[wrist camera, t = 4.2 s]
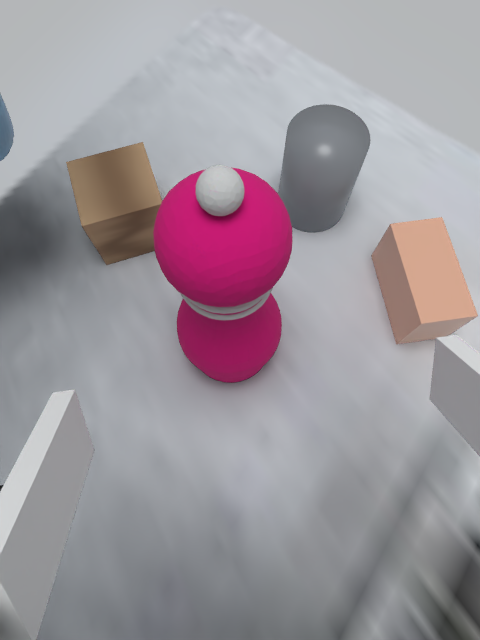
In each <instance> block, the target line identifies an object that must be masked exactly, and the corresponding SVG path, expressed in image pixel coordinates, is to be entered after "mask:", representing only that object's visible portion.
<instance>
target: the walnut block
mask: <svg viewBox="0 0 480 640" xmlns="http://www.w3.org/2000/svg"><path fill="white" fill-rule="evenodd" d="M66 163H67V167H68V171H69V175H70V180H71V184H72V188H73V192H74V196H75V200H76V204H77V208H78V213H79V217H80V221H81V225H82V227H83V229H84V230H85V232H86V234H87V235H88V237H89V238H90V240H91V241H92V243H93V244H94V246H95V248H96V249H97V251H98V252H99V254H100V255H101V257H102V259H103V260H104V262H105V263H106V265H108V264H112V263H115V262H119V261H122V260H126V259H129V258H132V257H136V256H139V255H143V254H146V253H149V252H153V251H155V249H154V236H153V231H154V223H155V219H156V216H157V212H158V210H159V208H160V205H161V203H162V199H161V196H160V193H159V190H158V187H157V184H156V181H155V178H154V175H153V172H152V169H151V166H150V163H149V160H148V157H147V154H146V151H145V147H144V144H143V142H141V143H137V144H134V145H130V146H126V147H122V148H118V149H115V150H111V151H107V152H103V153H99V154H95V155H92V156H88V157H84V158H80V159H76V160H73V161H69V162H66Z"/></svg>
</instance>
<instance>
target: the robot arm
mask: <svg viewBox="0 0 480 640" xmlns="http://www.w3.org/2000/svg"><path fill="white" fill-rule="evenodd" d="M13 137H14V132H13V126H12V122H11V119H10V116H9V113H8V111H7V108H6V106H5V104H4V101H3V99H2V96H1V94H0V161H1V160H3V159H4V157H5V156H7V154H8V153H9V151H10V148H11V146H12V143H13ZM430 400H431V402H432V403H433V404H434V405H435V406H436V407H437V408H438V410H439V411H440V412H441V413H442V414H443V415H444V416H445V418H446V419H447V420H448V421H449V422H450V423H451V424H452V425H453V427H454V428H455V429H456V430H457V431H458V432H459V433H460V435H461V436H462V437H463V438H464V439H465V440H466V441H467V443H468V444H469V445H470V446H471V447H472V448H473V449H474V451H475V452H476V453H477V454H478V455H479V456H480V353H479V352H478V351H477V350H475V349H474V348H473V347H471V346H470V345H469V344H468V343H466V342H465V341H464V340H462V339H461V338H460V337H459V336H457V335H451V336H444V337H437V338H436V343H435V353H434V362H433V371H432V381H431V390H430ZM93 453H94V447H93V444H92V441H91V438H90V434H89V431H88V428H87V425H86V422H85V419H84V416H83V413H82V410H81V407H80V404H79V400H78V397H77V394H76V391H75V390H68V391H61V392H54V393H52V395H51V397H50V399H49V401H48V403H47V405H46V406H45V408H44V410H43V412H42V414H41V416H40V418H39V420H38V422H37V423H36V425H35V427H34V429H33V431H32V433H31V435H30V437H29V438H28V440H27V442H26V444H25V446H24V448H23V450H22V452H21V454H20V455H19V457H18V459H17V461H16V463H15V465H14V467H13V469H12V470H11V472H10V474H9V476H8V478H7V480H6V482H5V484H4V485H1V486H0V640H37V636H38V633H39V630H40V627H41V623H42V620H43V617H44V614H45V610H46V607H47V604H48V600H49V597H50V594H51V591H52V587H53V584H54V581H55V578H56V574H57V571H58V568H59V564H60V561H61V558H62V555H63V551H64V548H65V545H66V542H67V538H68V535H69V532H70V529H71V525H72V522H73V519H74V515H75V512H76V509H77V506H78V502H79V499H80V496H81V493H82V489H83V486H84V483H85V479H86V476H87V473H88V470H89V466H90V463H91V460H92V457H93Z"/></svg>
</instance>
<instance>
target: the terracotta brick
mask: <svg viewBox="0 0 480 640" xmlns="http://www.w3.org/2000/svg"><path fill="white" fill-rule="evenodd" d="M371 256H372V260H373V263H374V267H375V270H376V274H377V277H378V281H379V284H380V288H381V292H382V295H383V299H384V302H385V306H386V309H387V313H388V316H389V320H390V323H391V327H392V330H393V334H394V337H395V341H396V344H403V343H410V342H417V341H424V340H431V339H436V338H437V337H444V336H448V335H450V334H451V333H453V332H454V331H456V330H457V329H459V328H460V327H462V326H463V325H465V324H467V323H468V322H470V321H471V320H473V319H474V318H476V317H477V316H478V315H477V312H476V309H475V306H474V304H473V301H472V298H471V295H470V293H469V290H468V287H467V284H466V282H465V279H464V276H463V273H462V271H461V268H460V265H459V262H458V260H457V257H456V254H455V251H454V249H453V246H452V243H451V240H450V238H449V235H448V232H447V229H446V226H445V224H444V221H443V218H442V217H441V218H433V219H425V220H418V221H410V222H402V223H394V224H390V225H389V227H388V229H387V230H386V232H385V234H384V235H383V237H382V239H381V240H380V242H379V244H378V245H377V247H376V249H375V250H374V252H373V254H372V255H371Z"/></svg>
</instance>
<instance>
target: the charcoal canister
mask: <svg viewBox="0 0 480 640" xmlns="http://www.w3.org/2000/svg"><path fill="white" fill-rule="evenodd" d="M369 146H370V134H369V130H368V128H367V126H366V124H365V123H364V122H363V120H362V119H361V118H360V117H359V116H357V115H356V114H355V113H353V112H352V111H350V110H348V109H346V108H343V107H340V106H335V105H316V106H312V107H309V108H306V109H304V110H302V111H301V112H299V113H298V114H297V115H296V116H295V117H294V118H293V119H292V120H291V122H290V124H289V126H288V129H287V135H286V143H285V150H284V157H283V164H282V172H281V179H280V186H279V193H278V195H279V196H280V198H281V199H282V201H283V202H284V205H285V207H286V209H287V212H288V214H289V217H290V221H291V226H292V227H294V228H296V229H298V230H301V231H305V232H321V231H324V230H327V229H329V228H331V227H333V226H334V225H335V224H336V223H337V222H338V221H339V220H340V218H341V217H342V215H343V212H344V210H345V207H346V205H347V202H348V200H349V197H350V195H351V192H352V189H353V187H354V184H355V182H356V179H357V177H358V174H359V172H360V169H361V167H362V164H363V162H364V159H365V157H366V154H367V152H368V149H369Z"/></svg>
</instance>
